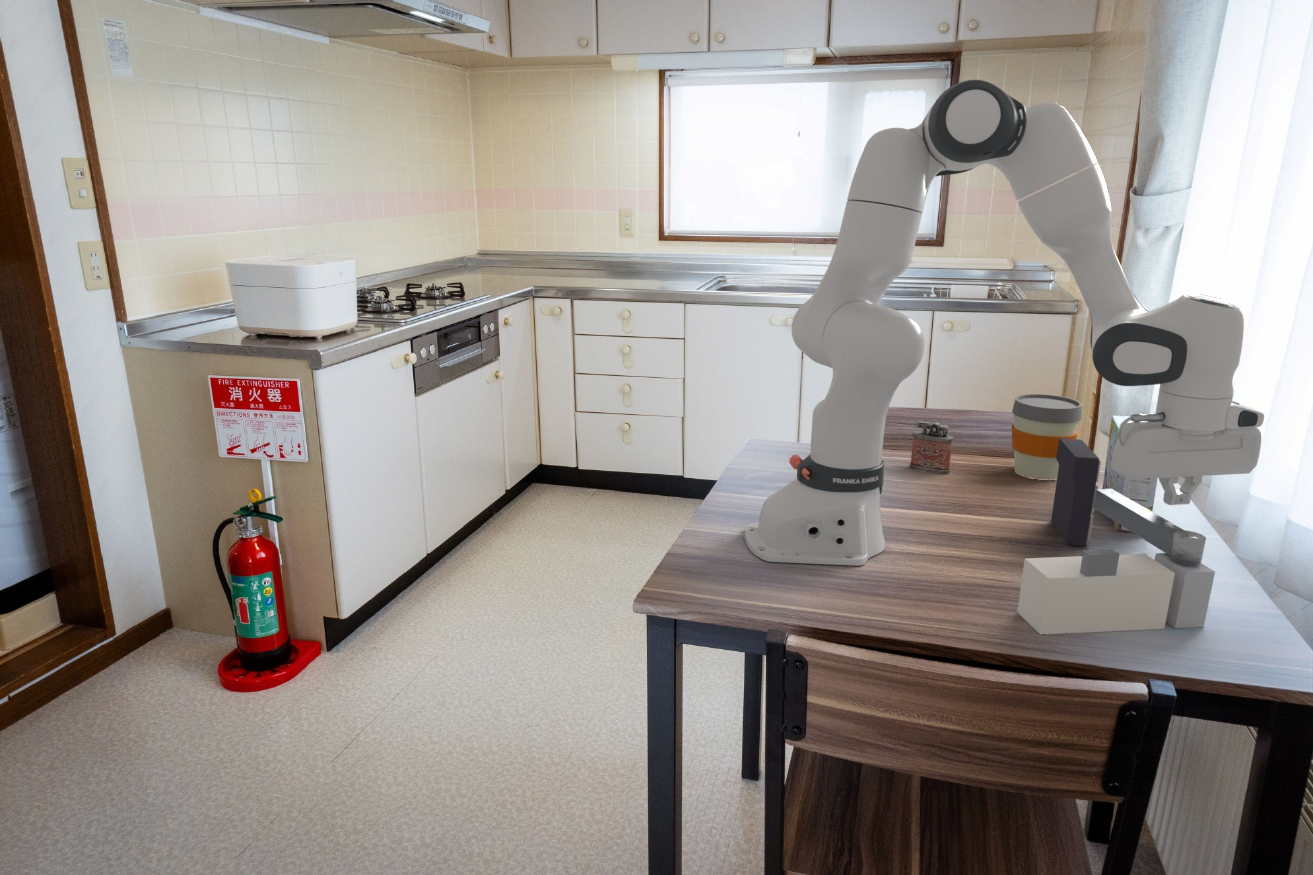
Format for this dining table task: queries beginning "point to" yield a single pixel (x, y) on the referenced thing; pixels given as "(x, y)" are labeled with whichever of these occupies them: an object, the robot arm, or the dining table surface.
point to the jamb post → (1187, 592)
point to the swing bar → (1151, 527)
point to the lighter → (931, 448)
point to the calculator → (1075, 491)
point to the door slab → (1095, 593)
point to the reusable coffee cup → (1042, 432)
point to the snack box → (1130, 488)
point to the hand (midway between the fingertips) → (1176, 503)
